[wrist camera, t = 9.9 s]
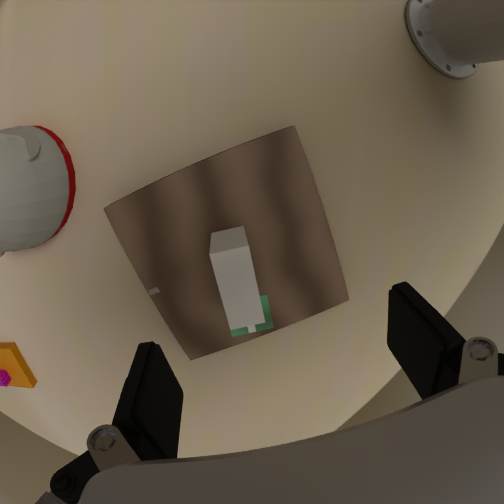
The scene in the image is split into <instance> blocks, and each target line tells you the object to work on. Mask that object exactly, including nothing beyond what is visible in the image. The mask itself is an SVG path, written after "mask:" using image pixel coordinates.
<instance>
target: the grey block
mask: <svg viewBox="0 0 504 504" xmlns="http://www.w3.org/2000/svg"><path fill="white" fill-rule="evenodd" d="M209 255H210V259H211V262H212V266H213V270H214V274H215V277H216V281H217V284H218V288H219V292H220V295H221V299H222V302H223V306H224V309H225V313H226V316H227V320H228V323H229V326H230V330H233V329H238V328H243V327H248V331H249V333H252V332H256V328H255V325H256V324H261V323H265V318H264V314H263V309H262V304H261V300H260V295H259V291H258V286H257V281H256V277H255V272H254V268H253V263H252V258H251V254H250V249H249V245H248V241H247V237H246V233H245V230H244V226H240V227H235V228H231V229H227V230H222V231H218V232H213V233H211V242H210V252H209Z"/></svg>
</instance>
